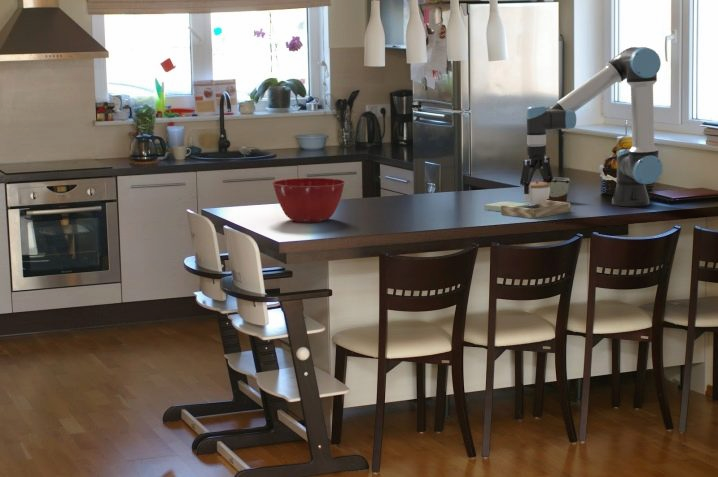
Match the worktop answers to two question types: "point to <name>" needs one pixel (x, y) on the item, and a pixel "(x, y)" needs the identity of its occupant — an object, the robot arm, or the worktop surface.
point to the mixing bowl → (309, 198)
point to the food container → (559, 189)
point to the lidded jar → (539, 192)
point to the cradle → (537, 209)
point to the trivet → (498, 205)
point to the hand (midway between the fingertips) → (536, 200)
